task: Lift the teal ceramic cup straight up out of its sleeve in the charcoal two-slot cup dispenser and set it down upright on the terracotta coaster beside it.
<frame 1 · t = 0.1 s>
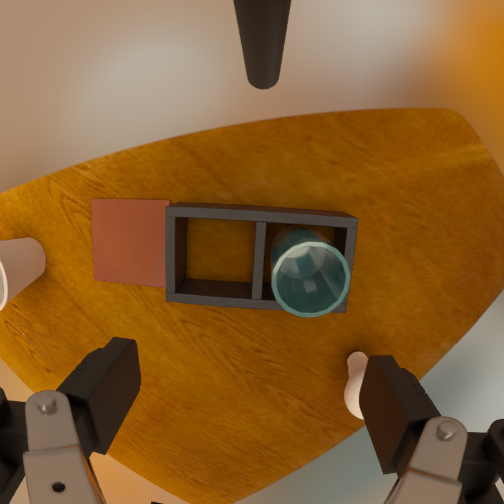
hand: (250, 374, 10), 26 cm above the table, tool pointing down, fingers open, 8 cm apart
coaster: (129, 242, 36), on the table
dispenser: (259, 250, 36), on the table
dixie cup: (32, 257, 37), on the table
lightbulb: (354, 355, 38), on the table
cup: (298, 252, 35), resting in dispenser
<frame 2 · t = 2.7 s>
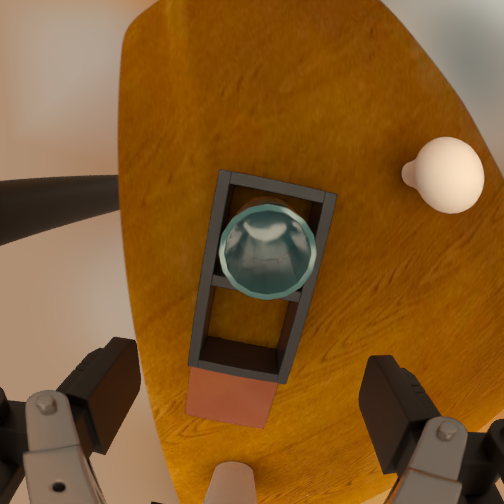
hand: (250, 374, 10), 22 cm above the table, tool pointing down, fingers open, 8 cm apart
coaster: (231, 391, 35), on the table
dispenser: (257, 272, 32), on the table
dixie cup: (233, 471, 39), on the table
lightbulb: (408, 174, 30), on the table
cup: (266, 229, 31), resting in dispenser
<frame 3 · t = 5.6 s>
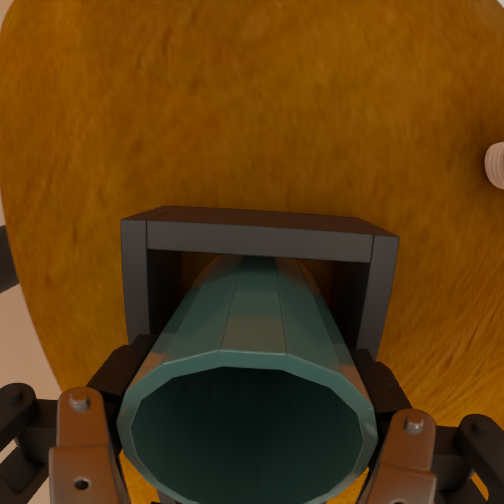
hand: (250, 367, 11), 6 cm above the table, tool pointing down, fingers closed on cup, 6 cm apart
dispenser: (250, 375, 17), on the table
lightbulb: (489, 165, 14), on the table
cup: (255, 306, 16), resting in dispenser, touching gripper
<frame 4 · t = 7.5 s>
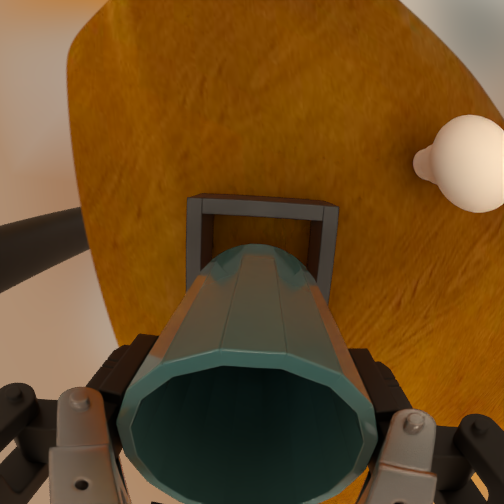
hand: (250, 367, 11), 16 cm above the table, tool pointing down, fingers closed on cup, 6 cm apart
dispenser: (256, 307, 27), on the table
lightbulb: (420, 164, 24), on the table
cup: (255, 305, 16), point 10 cm above the table, touching gripper
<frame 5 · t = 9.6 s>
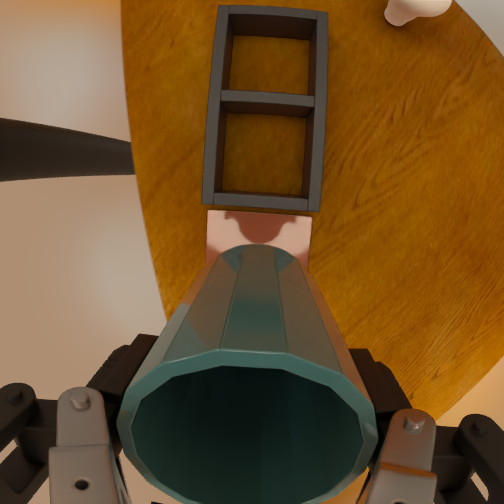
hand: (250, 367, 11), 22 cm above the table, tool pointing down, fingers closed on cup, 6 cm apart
coaster: (256, 262, 32), on the table
dispenser: (267, 109, 29), on the table
lightbulb: (391, 20, 26), on the table
cup: (255, 305, 16), point 16 cm above the table, touching gripper
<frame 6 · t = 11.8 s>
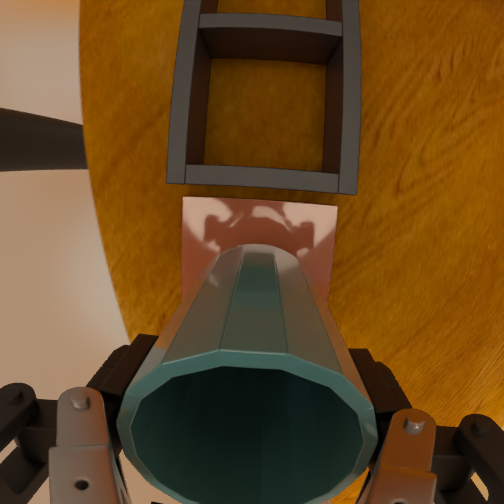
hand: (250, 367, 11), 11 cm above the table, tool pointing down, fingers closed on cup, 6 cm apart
coaster: (256, 274, 22), on the table
dispenser: (269, 53, 18), on the table
cup: (255, 305, 16), point 6 cm above the table, touching gripper
when the fingers open (6 cm above the table, at t = 13.7 s): cup stays where it is, resting on coaster.
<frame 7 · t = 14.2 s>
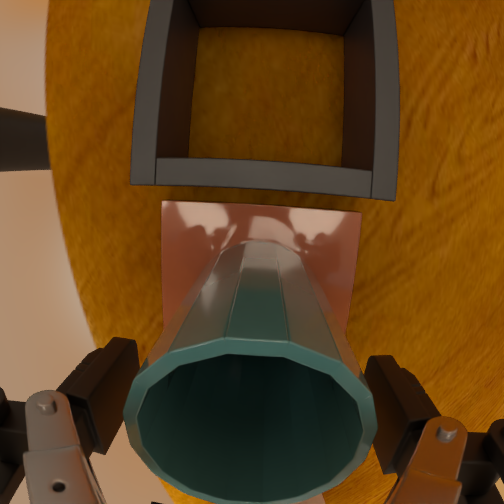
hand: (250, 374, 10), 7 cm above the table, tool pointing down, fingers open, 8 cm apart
coaster: (256, 299, 17), on the table
dispenser: (272, 20, 14), on the table
cup: (257, 302, 17), resting on coaster
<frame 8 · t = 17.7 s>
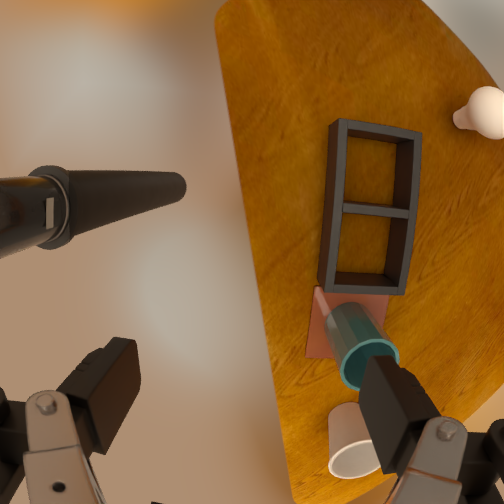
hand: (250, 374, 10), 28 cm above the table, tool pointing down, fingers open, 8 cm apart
coaster: (347, 323, 40), on the table
dispenser: (363, 206, 37), on the table
dixie cup: (345, 414, 44), on the table
lightbulb: (456, 120, 34), on the table
cup: (348, 324, 40), resting on coaster
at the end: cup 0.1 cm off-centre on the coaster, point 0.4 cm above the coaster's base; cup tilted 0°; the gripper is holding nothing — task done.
